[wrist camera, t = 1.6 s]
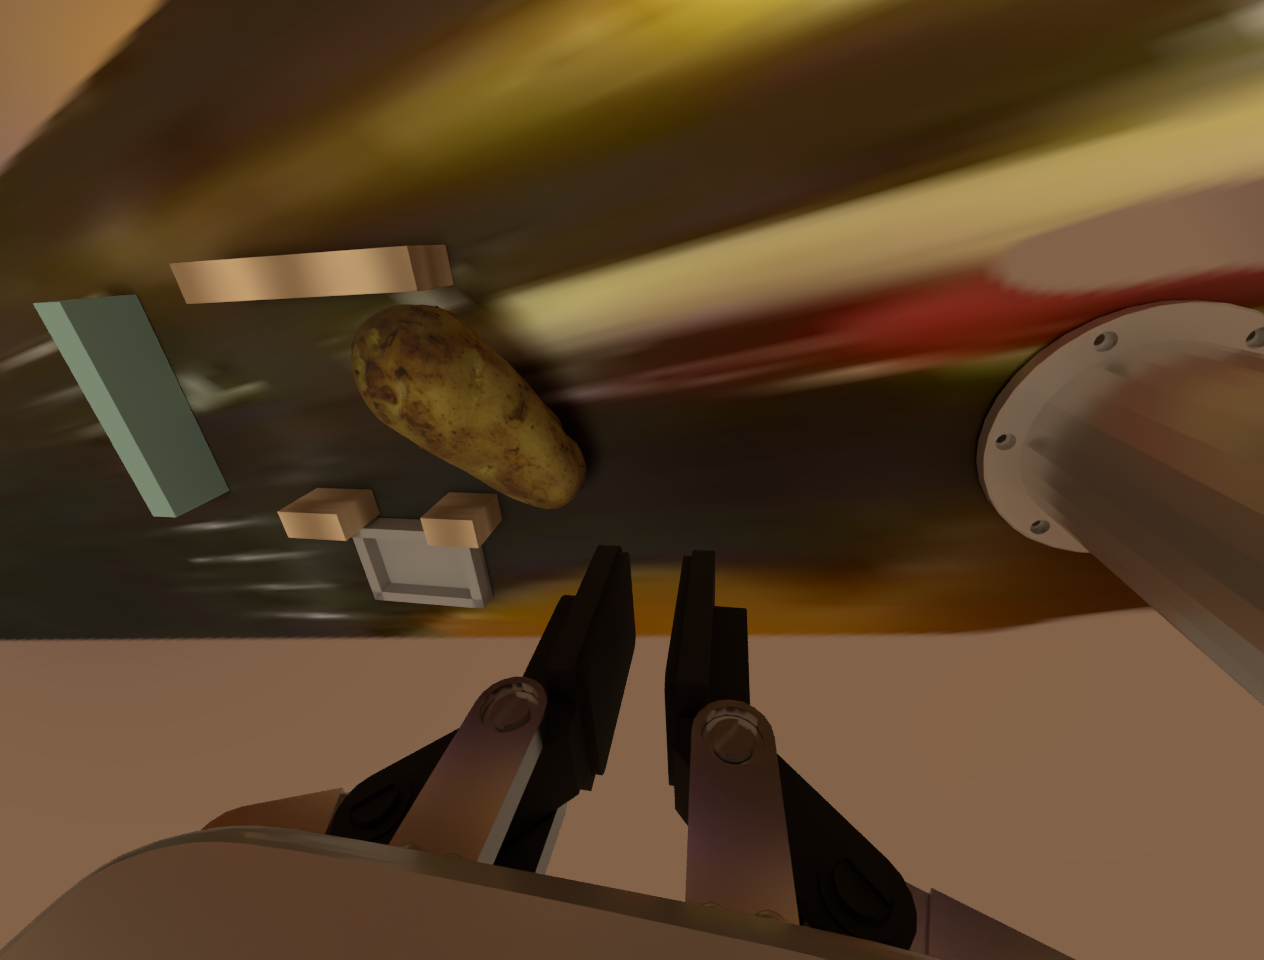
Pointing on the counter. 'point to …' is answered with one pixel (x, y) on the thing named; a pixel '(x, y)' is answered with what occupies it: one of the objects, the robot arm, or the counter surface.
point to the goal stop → (136, 399)
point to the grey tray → (420, 566)
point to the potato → (464, 404)
